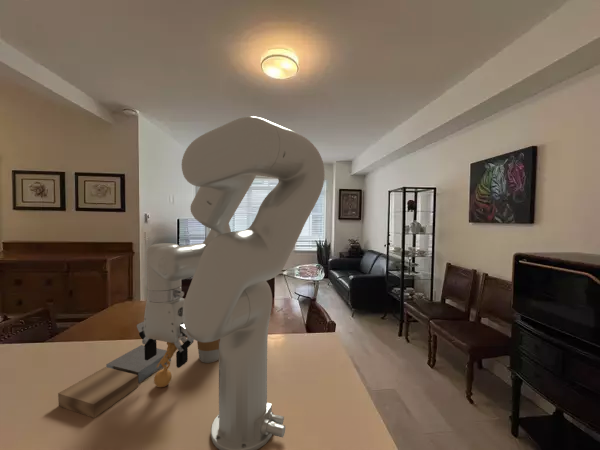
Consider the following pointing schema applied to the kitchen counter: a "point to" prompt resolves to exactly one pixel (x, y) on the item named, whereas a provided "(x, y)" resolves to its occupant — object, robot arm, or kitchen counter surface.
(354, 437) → the kitchen counter surface
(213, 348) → the coffee cup
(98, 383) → the walnut stand
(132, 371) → the grey metal stand
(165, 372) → the figurine
